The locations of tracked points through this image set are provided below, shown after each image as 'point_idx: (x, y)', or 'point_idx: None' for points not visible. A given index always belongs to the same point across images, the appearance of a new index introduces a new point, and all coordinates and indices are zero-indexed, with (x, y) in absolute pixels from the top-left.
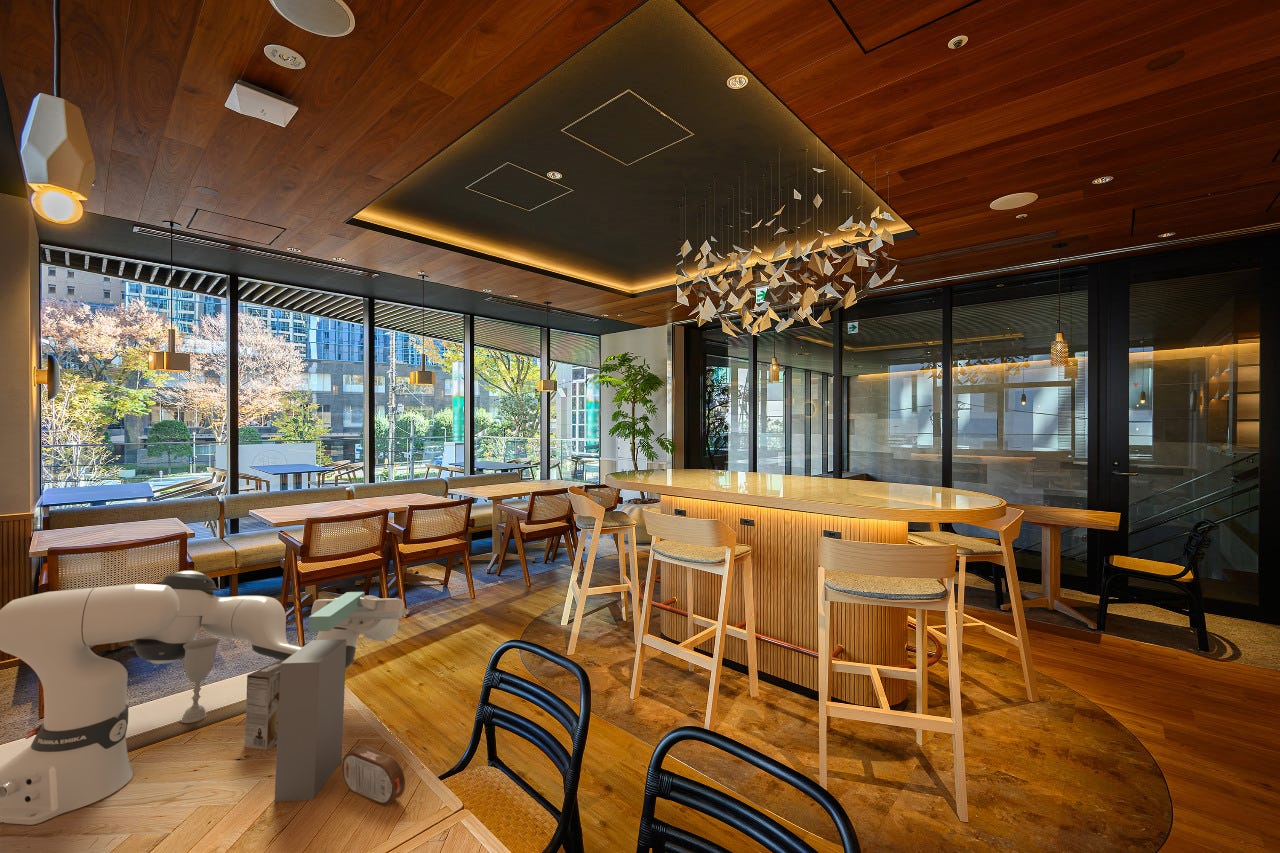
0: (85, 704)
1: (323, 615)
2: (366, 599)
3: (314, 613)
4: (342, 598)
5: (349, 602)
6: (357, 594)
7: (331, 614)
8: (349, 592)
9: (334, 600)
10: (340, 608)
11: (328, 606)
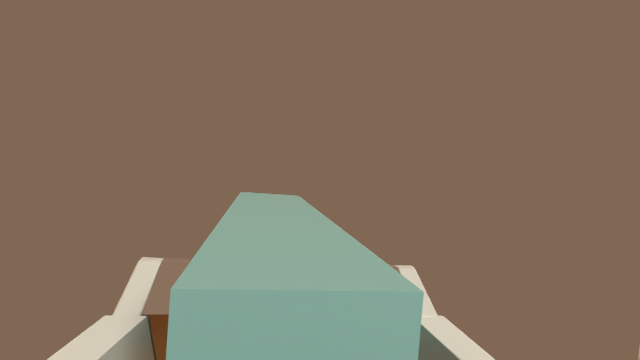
0: (638, 357)
1: (263, 194)
2: (129, 292)
3: (300, 198)
4: (308, 228)
5: (228, 210)
6: (237, 252)
7: (242, 193)
8: (378, 285)
9: (331, 222)
10: (237, 199)
11: (299, 207)
